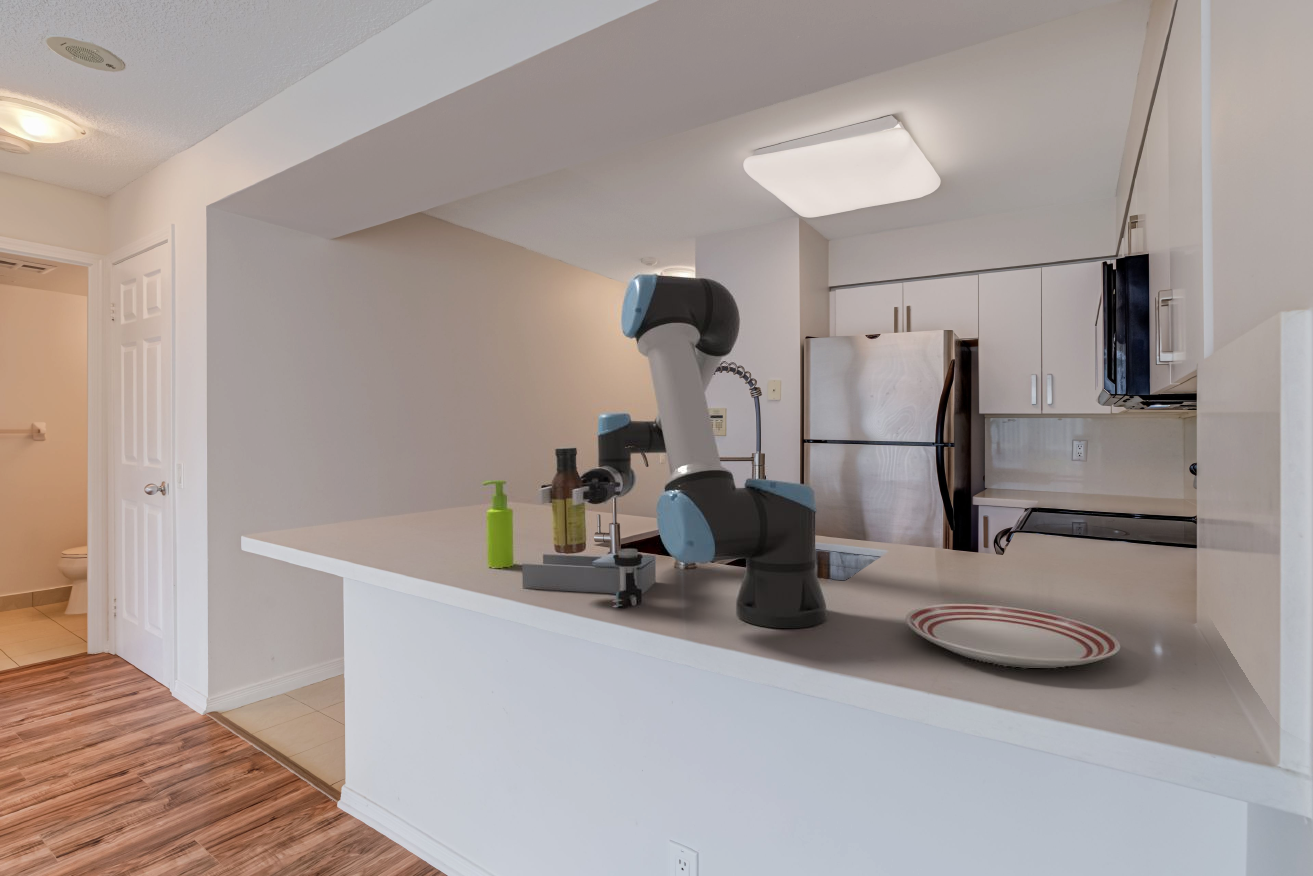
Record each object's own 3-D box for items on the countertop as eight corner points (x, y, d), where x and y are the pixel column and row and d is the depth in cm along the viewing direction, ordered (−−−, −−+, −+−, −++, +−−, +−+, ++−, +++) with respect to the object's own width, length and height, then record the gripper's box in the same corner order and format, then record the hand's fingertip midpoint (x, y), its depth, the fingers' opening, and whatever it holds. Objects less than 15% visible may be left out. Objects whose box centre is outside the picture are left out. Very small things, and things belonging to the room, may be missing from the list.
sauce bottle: (589, 548, 129) (588, 446, 128) (582, 555, 123) (582, 448, 122) (556, 547, 129) (555, 446, 129) (547, 554, 123) (547, 448, 123)
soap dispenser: (481, 565, 156) (479, 480, 155) (510, 562, 159) (509, 479, 158) (485, 570, 150) (484, 482, 150) (515, 567, 153) (514, 480, 153)
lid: (655, 558, 137) (655, 555, 137) (640, 567, 127) (640, 564, 127) (609, 556, 140) (609, 553, 140) (592, 565, 129) (592, 561, 129)
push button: (624, 612, 116) (624, 555, 115) (602, 607, 119) (602, 552, 119) (649, 604, 121) (648, 549, 121) (627, 599, 124) (626, 546, 124)
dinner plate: (935, 610, 116) (935, 591, 116) (1127, 642, 99) (1127, 619, 99) (878, 654, 94) (878, 631, 94) (1109, 704, 77) (1110, 676, 77)
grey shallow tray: (655, 582, 137) (655, 558, 137) (641, 595, 127) (641, 569, 127) (544, 576, 144) (544, 553, 144) (522, 588, 134) (522, 563, 133)
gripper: (642, 503, 141) (606, 518, 118) (559, 501, 146) (509, 516, 123) (642, 468, 141) (606, 477, 118) (559, 467, 145) (509, 475, 123)
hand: (557, 497), depth 121 cm, fingers closed on sauce bottle, 6 cm apart
